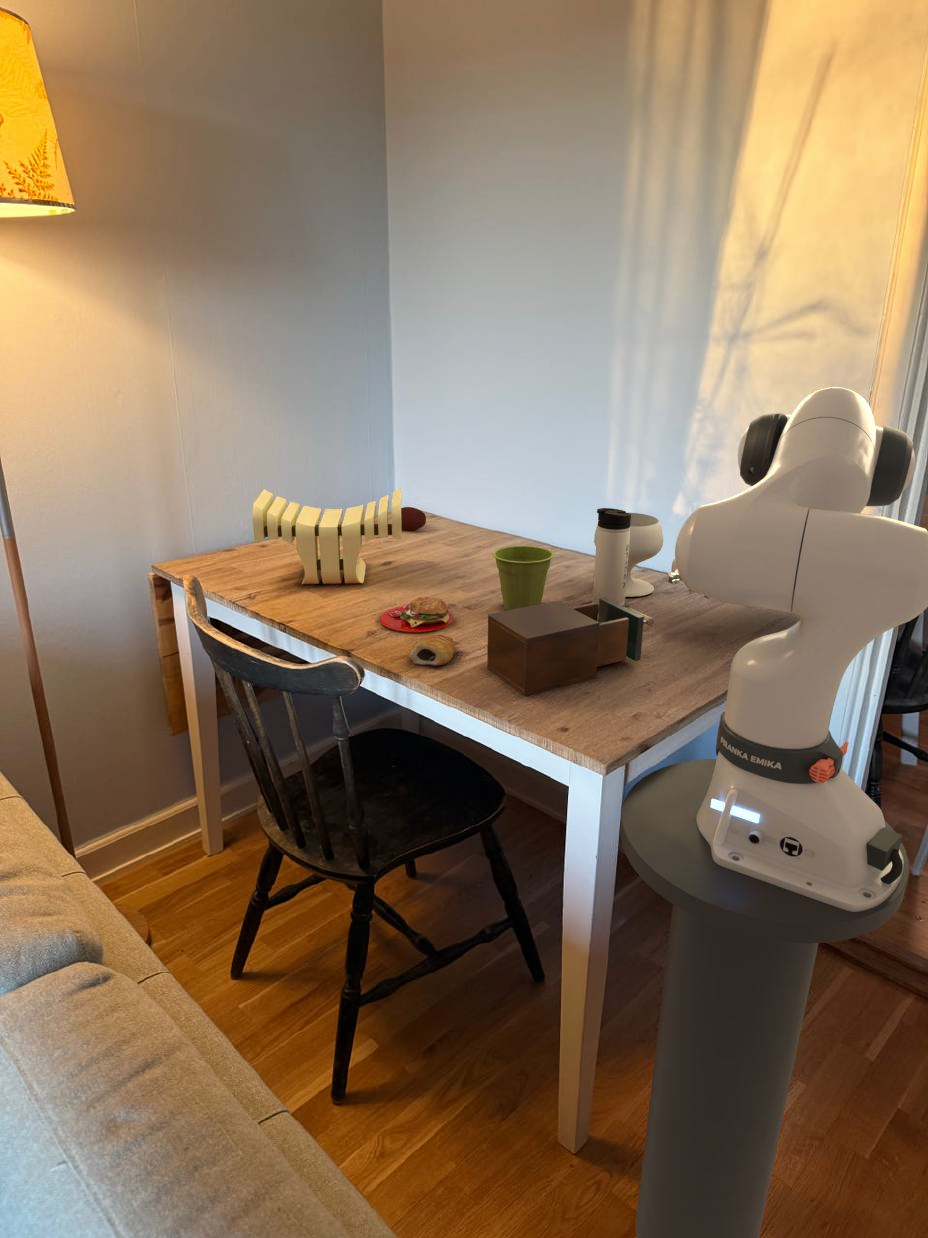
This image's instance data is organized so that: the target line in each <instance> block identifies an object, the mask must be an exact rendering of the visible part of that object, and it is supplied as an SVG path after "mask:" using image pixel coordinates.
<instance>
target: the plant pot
mask: <svg viewBox="0 0 928 1238" xmlns="http://www.w3.org/2000/svg"><path fill="white" fill-rule="evenodd" d="M492 556H493V558H495V564H496V568H497V570H498V576H499V584H500V589H501V590H500V591H501V596H502V603H503V607H504V609H505V611H508V610H513V609H518V608H523V607H528V606H533V605H538V604H542V602H543V597H544V591H545V585H546V581H547V576H548V571H549V569H550V566H551V561H552V559H553V558H554V556H555V552H553V550H551V549H549V548H546V547H542V546H534V545H510V546H503V547H499V548H497V549H494V551H493V552H492Z"/></svg>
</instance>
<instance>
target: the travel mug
mask: <svg viewBox="0 0 928 1238" xmlns="http://www.w3.org/2000/svg"><path fill="white" fill-rule="evenodd" d="M596 513H597V515H598V516H597V525H596V528H597V539H596V546H595V556H594V557H595V558H594V573H593V587H592V588H593V589H592V602H591V603H594V602H596V603H598V612H599V599H600V598H607V599H609V600H611V601H613V602H615V603H617V604H619V605H621V606H623V607H625V604H626V603H625V600H626V596H625V591H626V578H627V565H628V553H629V540H630V527H631V526H630V522H631V514H629V513H630V512H627V511H626V510H623V509H618V508H612V507H611V508H610V507H600V508H597V509H596Z"/></svg>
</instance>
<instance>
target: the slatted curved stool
mask: <svg viewBox="0 0 928 1238" xmlns="http://www.w3.org/2000/svg"><path fill="white" fill-rule="evenodd" d="M389 501H390V499H389V494H386V495H385V496H382V497H381V498H379V505H378V513H377V500H373V501H370V502H368V503H367V505H366V510H365V507H364V506H365V505H364V504H359V505H357V506H350V507H347V508H346V509H345V513H343V512H344V511H343V508H325V509H324V512H323V515H322V508H321V507H314V506H308V505H303V507H302V508H301V506H300V505H301V504H300V503H298V502H295V501H289V504H288V503H287V499H286V498H284V497H281V496H279V495H277V496H276V498H275V499H274V493H272V492H271V491H269V490H267V489H265V488H264V489H263V490H262V491H261V492H260V494H259V495H258V496H257V498H256V499H255V500H254V502H253V505H252V529H253V539H254V540H253V541H254V543H257V542H261V541H265V539H266V538H267V539H268V540H278V539H279V538H281V540H282V541H283V542H286V543H289V544H290V545H293V543H294V541H295V543H296V544H295V545H296V552H297V554H298V556H299V558H300V560H301V563H302V567H303V571H304V576H303V579H302V582H301V585H320V583H321V582H322V584H323V585H326V584H327V585H329V584H330V585H332V584H333V585H335V584H337V585H338V584H342V582H343V578H344V584H364V581H365V574H366V569H367V564H366V563H365V562H364V560H363V558H362V556H360V553H361V551H362V545H363V536H364V544H367V543H368V542H369V541H371V540H374V539H375V536H378V538H379V539H380V538H382V539H383V538H385V539H386V538H388V537H389V536H391V538H392V539H395V540H400V541H402V539H403V538H402V531H403V530H402V529H401V508H402V487H400V488H397V489H396V490H394V491H392V496H391V523H389V508H390V507H389V506H390V502H389ZM343 514H344V517H343ZM364 514H365V515H364ZM376 515H377V523H376ZM321 516H322V517H321ZM342 518H343V521H342ZM320 519H321V520H320ZM363 520H364V521H363ZM363 522H364V524H363ZM341 523H342V524H341ZM340 537H341V538H340ZM340 541H341V542H340ZM318 542H319V548H318ZM341 545H342V557H341ZM318 549H319V550H318Z"/></svg>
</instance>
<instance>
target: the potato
mask: <svg viewBox="0 0 928 1238" xmlns="http://www.w3.org/2000/svg"><path fill="white" fill-rule="evenodd" d="M426 523H427V515H426V514H425V513H424V511H422V510H421V509H418V508H416V507H414V506H413V507H412V506H403V507H401V530H406V531H417V530H421V528H423V527H424V526H425V525H426Z"/></svg>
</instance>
